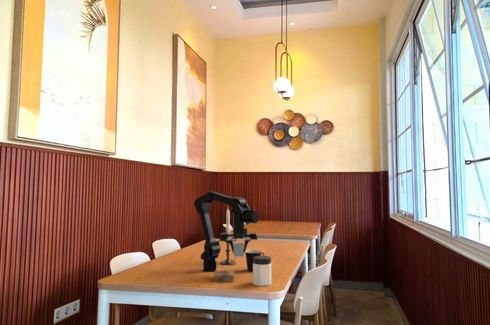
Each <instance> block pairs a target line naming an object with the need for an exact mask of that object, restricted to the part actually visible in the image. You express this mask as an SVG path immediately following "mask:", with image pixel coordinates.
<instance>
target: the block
mask: <svg viewBox="0 0 490 325" xmlns="http://www.w3.org/2000/svg"><path fill="white" fill-rule="evenodd" d="M244 244H245V242H233V246H234V254H233V257H234V258H235V257H237V258H238V257H244V256H245V253H244Z"/></svg>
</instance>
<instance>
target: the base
mask: <svg viewBox="0 0 490 325" xmlns="http://www.w3.org/2000/svg"><path fill="white" fill-rule="evenodd" d="M234 279H235V271H234V270H215V271H214V275H213V282H215V283H221V282H222V283H233V282H234V281H235V280H234Z"/></svg>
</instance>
